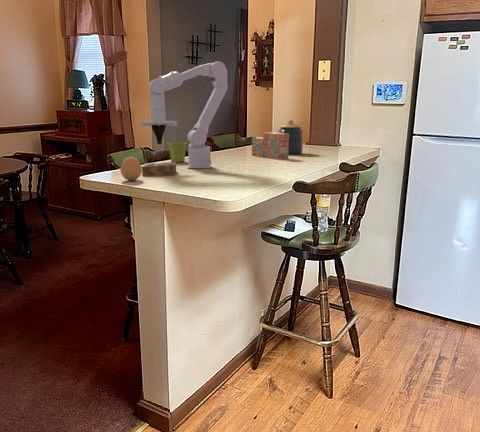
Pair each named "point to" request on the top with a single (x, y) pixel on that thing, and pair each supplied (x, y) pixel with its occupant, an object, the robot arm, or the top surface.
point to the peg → (164, 164)
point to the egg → (131, 168)
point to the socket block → (158, 169)
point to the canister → (293, 136)
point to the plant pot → (177, 151)
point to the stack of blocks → (271, 145)
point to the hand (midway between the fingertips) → (159, 143)
